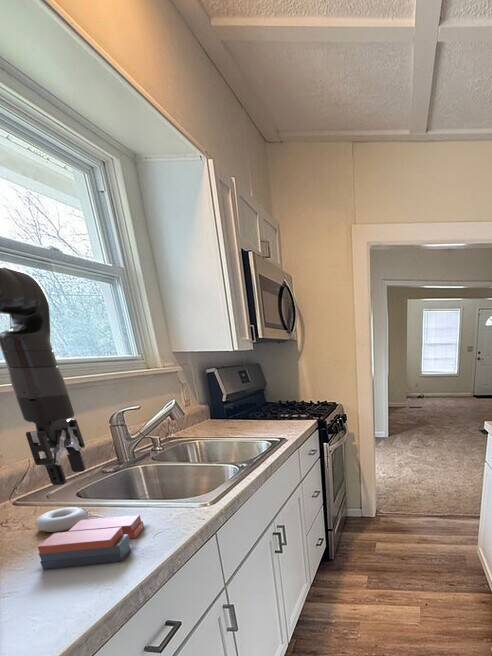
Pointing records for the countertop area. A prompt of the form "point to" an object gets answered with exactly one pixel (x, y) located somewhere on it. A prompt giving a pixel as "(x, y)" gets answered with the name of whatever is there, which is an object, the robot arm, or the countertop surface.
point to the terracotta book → (80, 540)
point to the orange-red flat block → (112, 524)
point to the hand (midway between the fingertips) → (70, 477)
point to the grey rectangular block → (87, 555)
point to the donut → (60, 519)
